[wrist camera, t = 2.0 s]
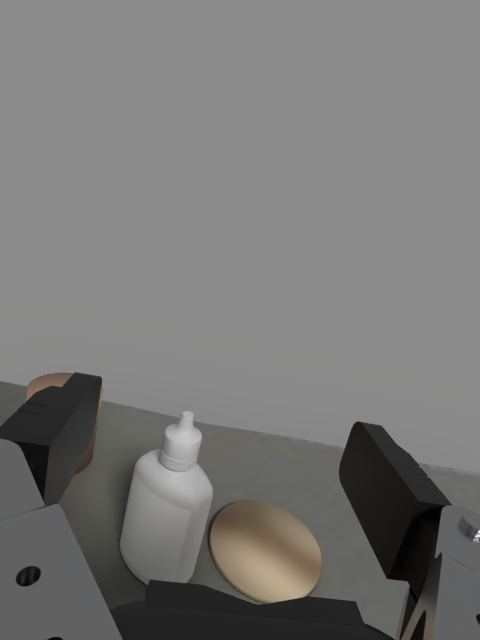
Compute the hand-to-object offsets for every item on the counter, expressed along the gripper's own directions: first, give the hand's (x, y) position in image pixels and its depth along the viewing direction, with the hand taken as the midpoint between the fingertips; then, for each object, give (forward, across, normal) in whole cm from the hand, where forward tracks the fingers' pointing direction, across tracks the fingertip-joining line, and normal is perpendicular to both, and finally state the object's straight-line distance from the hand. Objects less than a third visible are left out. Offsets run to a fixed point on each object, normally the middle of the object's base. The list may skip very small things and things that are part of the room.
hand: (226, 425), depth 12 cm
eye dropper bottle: (+11, +1, +18) cm, 21 cm away
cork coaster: (+13, -8, +18) cm, 24 cm away
